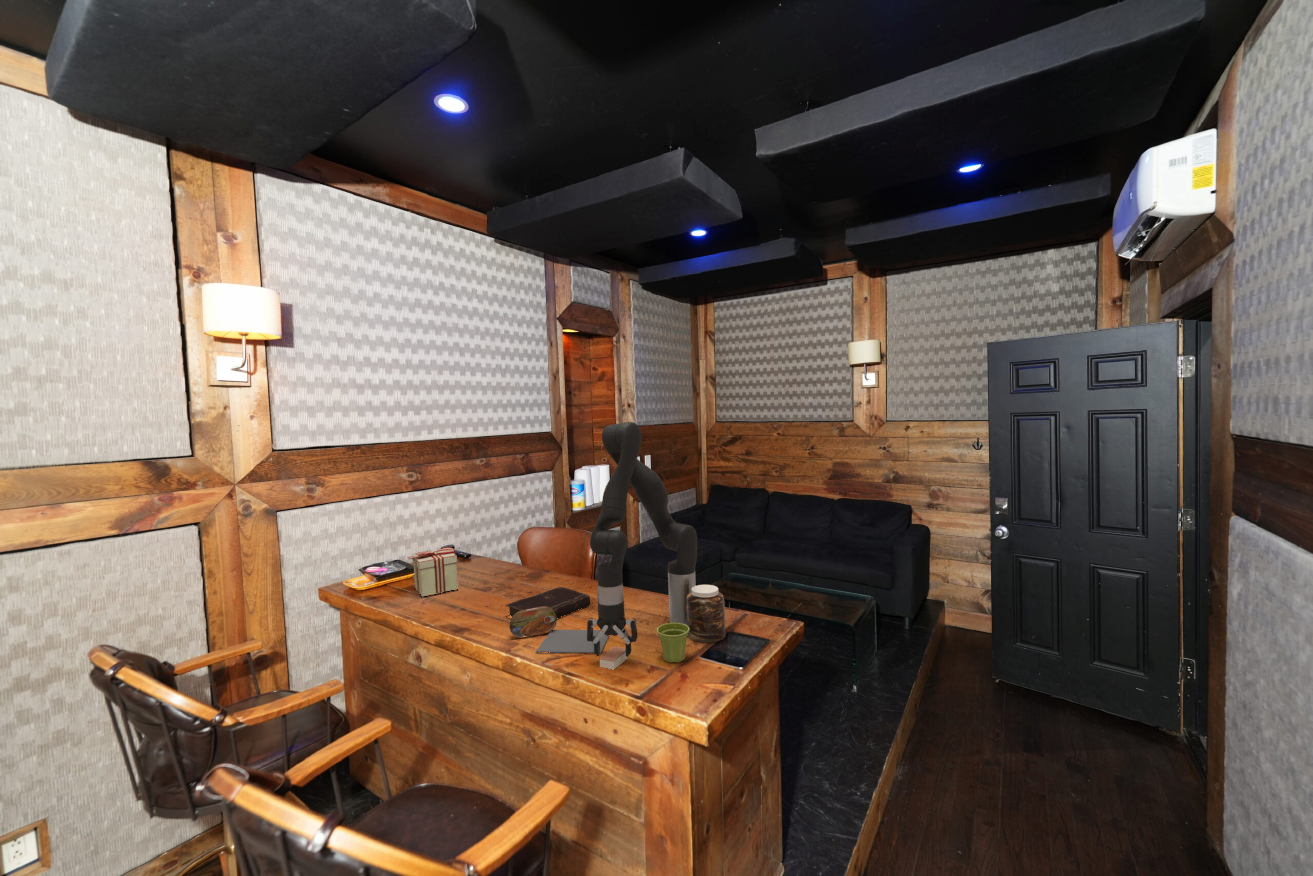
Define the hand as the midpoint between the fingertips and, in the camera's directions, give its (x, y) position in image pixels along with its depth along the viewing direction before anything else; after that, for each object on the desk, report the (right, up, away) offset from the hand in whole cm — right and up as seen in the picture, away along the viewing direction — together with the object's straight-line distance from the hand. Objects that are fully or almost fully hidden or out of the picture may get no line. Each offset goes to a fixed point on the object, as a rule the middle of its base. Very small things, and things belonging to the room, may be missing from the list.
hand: (612, 655), depth 151 cm
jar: (+28, -1, +16) cm, 33 cm away
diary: (-27, -2, +43) cm, 50 cm away
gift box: (-82, -2, +73) cm, 110 cm away
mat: (-13, -2, +15) cm, 20 cm away
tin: (-27, -2, +21) cm, 35 cm away
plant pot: (+18, -2, +1) cm, 18 cm away
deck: (0, -2, 0) cm, 2 cm away
